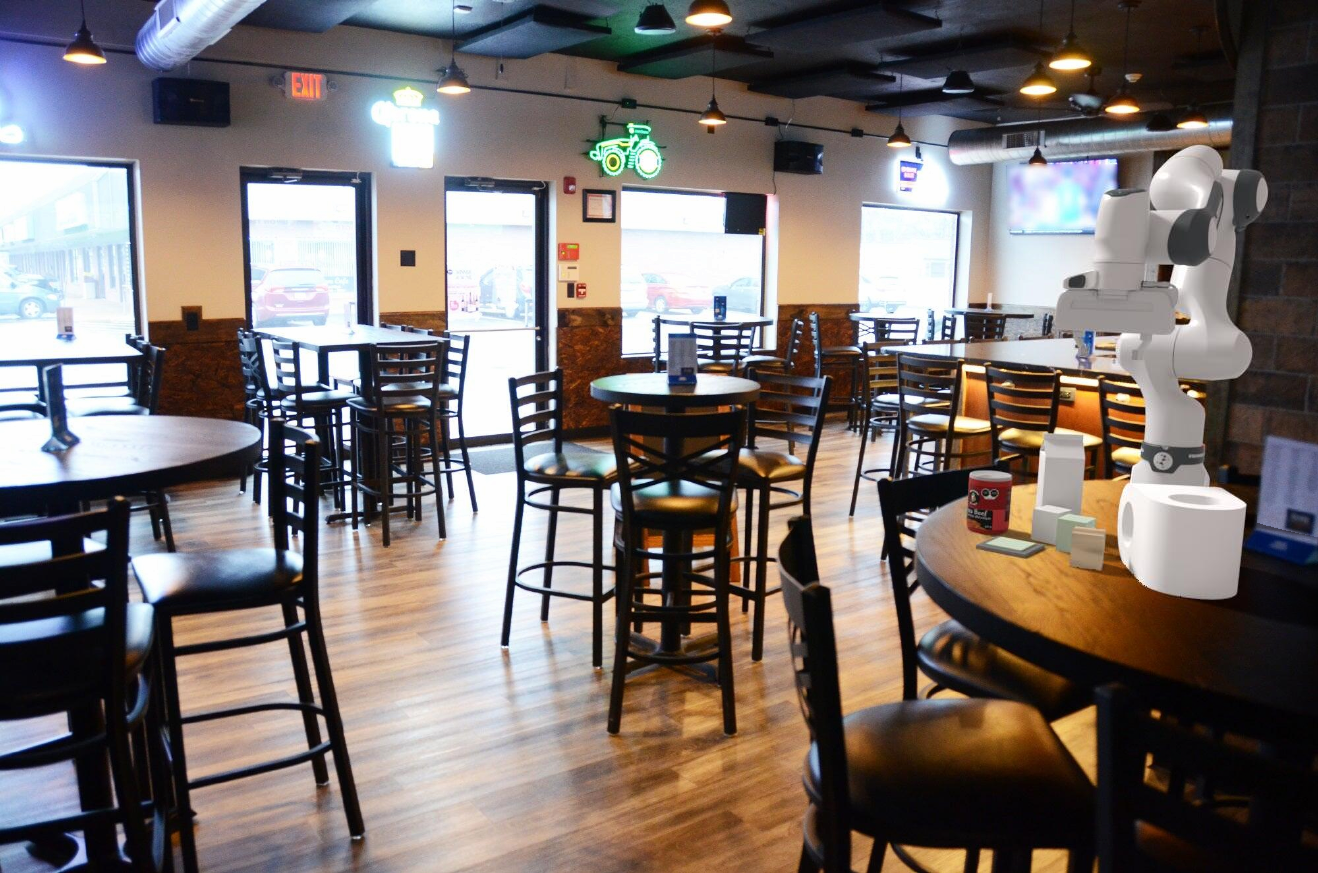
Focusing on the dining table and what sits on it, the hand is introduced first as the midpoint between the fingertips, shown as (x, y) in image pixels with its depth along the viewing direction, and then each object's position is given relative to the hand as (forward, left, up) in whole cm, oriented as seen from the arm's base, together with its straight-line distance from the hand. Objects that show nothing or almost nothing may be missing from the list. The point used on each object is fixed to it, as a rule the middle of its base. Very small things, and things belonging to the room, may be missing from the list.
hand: (1109, 358), depth 188 cm
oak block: (+15, +4, -35) cm, 38 cm away
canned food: (+4, -19, -35) cm, 40 cm away
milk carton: (-5, -9, -35) cm, 36 cm away
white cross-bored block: (+11, +17, -35) cm, 40 cm away
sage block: (+7, -1, -35) cm, 35 cm away
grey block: (+3, -7, -35) cm, 35 cm away
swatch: (+14, -10, -34) cm, 39 cm away
